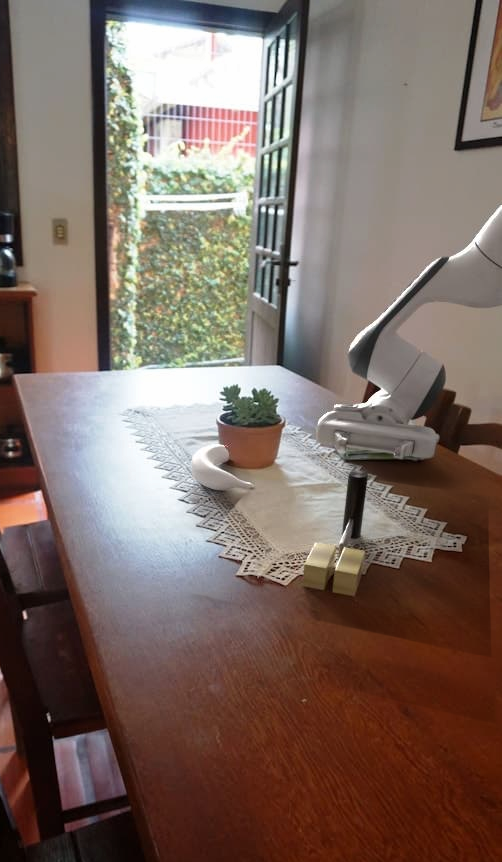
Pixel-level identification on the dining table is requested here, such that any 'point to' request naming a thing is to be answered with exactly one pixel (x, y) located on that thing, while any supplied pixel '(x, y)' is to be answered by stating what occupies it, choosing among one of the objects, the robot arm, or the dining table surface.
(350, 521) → the knife
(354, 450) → the towel
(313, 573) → the slotted cream block
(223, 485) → the banana
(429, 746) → the dining table surface
